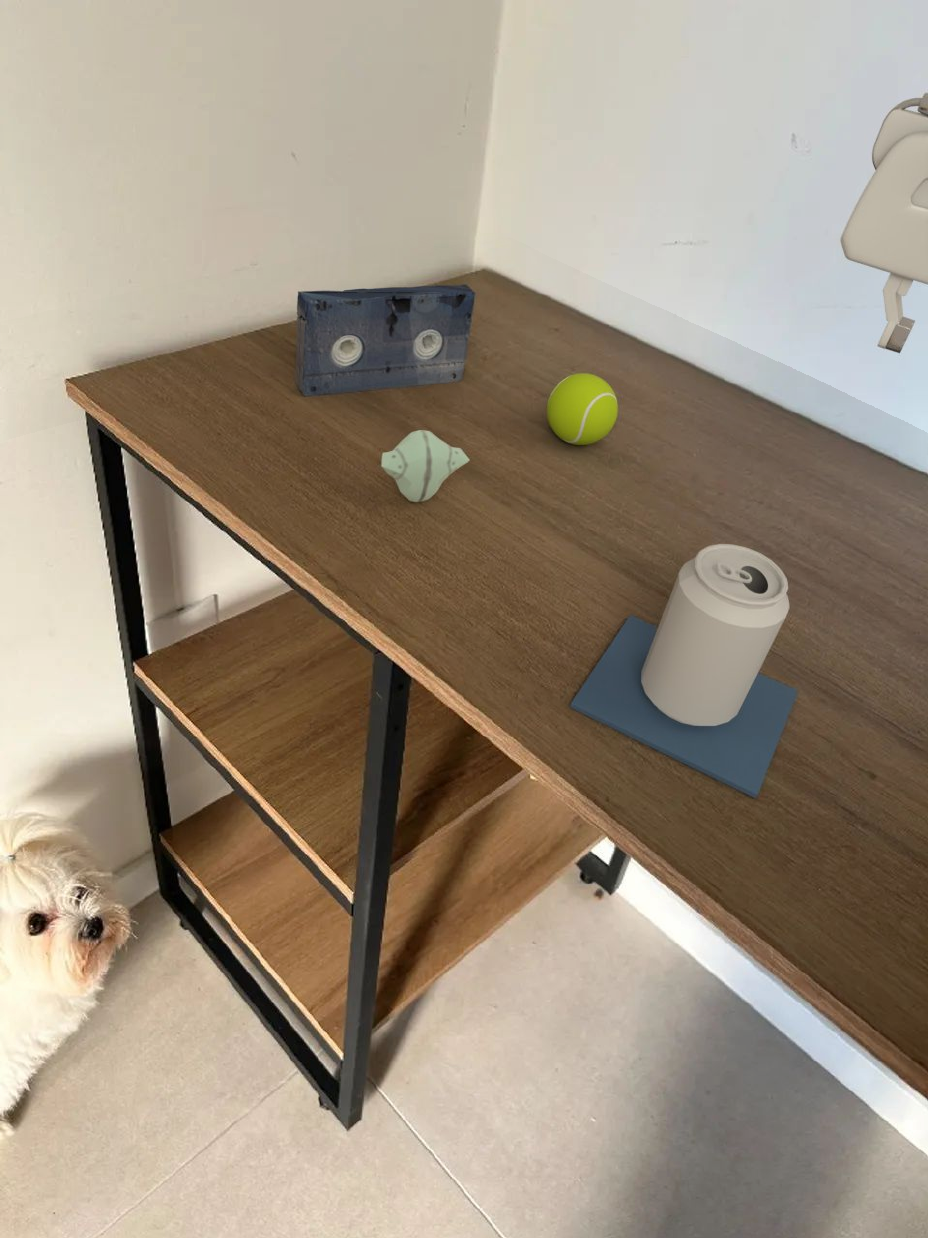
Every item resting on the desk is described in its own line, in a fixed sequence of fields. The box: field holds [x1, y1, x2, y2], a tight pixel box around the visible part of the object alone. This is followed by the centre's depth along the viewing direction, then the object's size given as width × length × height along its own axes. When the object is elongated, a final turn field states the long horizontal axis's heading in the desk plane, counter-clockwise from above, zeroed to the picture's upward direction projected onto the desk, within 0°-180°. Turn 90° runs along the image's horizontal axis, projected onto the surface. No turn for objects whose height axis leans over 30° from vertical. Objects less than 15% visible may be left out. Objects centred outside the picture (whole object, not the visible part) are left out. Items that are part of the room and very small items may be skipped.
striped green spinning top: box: [380, 429, 471, 503], centre depth 81 cm, size 8×4×7 cm, turn 110°
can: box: [641, 543, 790, 726], centre depth 65 cm, size 8×8×12 cm
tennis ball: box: [546, 372, 619, 446], centre depth 93 cm, size 7×7×7 cm
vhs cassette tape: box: [294, 284, 476, 397], centre depth 95 cm, size 18×3×10 cm, turn 115°
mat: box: [569, 614, 799, 799], centre depth 69 cm, size 14×12×1 cm
